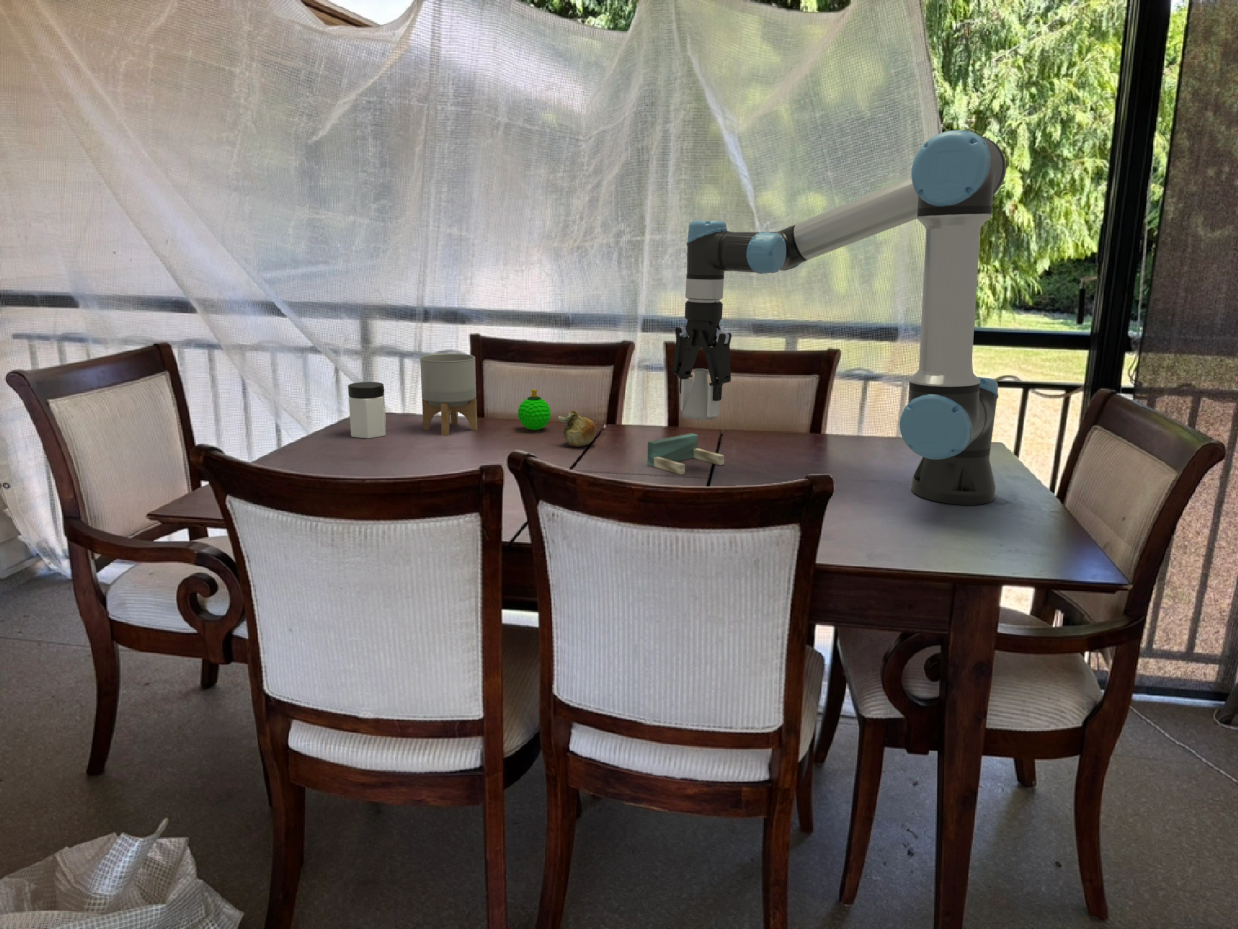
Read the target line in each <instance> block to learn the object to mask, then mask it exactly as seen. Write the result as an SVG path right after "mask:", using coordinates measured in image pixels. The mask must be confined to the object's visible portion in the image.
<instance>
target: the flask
mask: <svg viewBox="0 0 1238 929" xmlns="http://www.w3.org/2000/svg"><path fill="white" fill-rule="evenodd" d="M692 372H693V373H694V378H693V388H692V391H691V393H690V396H689V399H688V401H687V404H686V406H685V409H684V411H683V412H682V414H681V416H682V417H683V419H685V420H686V419H687V420H695V421H711V420H714V419H717V416H713V417H707V401H708V385H709V383H708V374H709V369H708V368H693V369H692Z"/></svg>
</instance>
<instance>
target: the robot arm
mask: <svg viewBox="0 0 1238 929" xmlns="http://www.w3.org/2000/svg"><path fill="white" fill-rule="evenodd" d="M1005 156H1006V155H1005V154H1004V152H1003V150H1002V149H1001V147H1000V146H999V145H998V144H997V143H996V142H994V141H993V140H992V139H990V138H988V137H984V136H981V135H978V134H977V133H976V132H973V131H971V130H968V129H965V130H964V129H963V130H962V129H961V130H960V129H956V130H953V129H952V130H947V131H944V132H943V131H942V132H941V133H938V134H936V135H934V136H932V137H931V138H930V139H928V140H927V141H926V142H925V143H924V144H923V145H922V146H921V147H920V148H919V150H918V151H917V153H916V155H915V157H914V159H913V162H912V164H911V165H912V166H911V173H910V174H911V175H910V176H909V177H906V178H904V179H902V180H900V181H897V182H895V183H892V184H889V185H887V186H884V187H883V188H880V189H878V190H875V191H873V192H870V193H867V194H866V195H864V196H861V197H858V198H855V199H854V200H851V201H849V202H846V203H844V204H841V205H839V206H837V207H833V208H831V209H829V210H827V211H824V212H822V213H819V214H817V215H814V216H812V217H810V218H808V219H805V220H803V221H801V222H798V223H796V224H794V225H791V226H788V227H785V228H783V229H781V230H779V231H729V230H728V228H727V223H726V221H724V220H692V222H690V223H689V225H688V233H687V242H686V246H687V247H686V248H687V250H686V253H687V254H686V256H687V257H686V260H687V261H686V277H685V279H686V280H685V299H688V300H686V302H685V303H684V319H685V320H687V321H686V324H685V326H677V327H675V329H674V334H675V346H674V355H673V362H672V364H673V365H672V371H671V372H672V374H673V375H676V376H677V377H678V378H679V388H678V389H679V394H680V408H679V409H680V411H684V409H685V406H686V404H687V401H688V399H689V396H690V393H691V391H692V388H693V383H694V378H692V377H693V374H692V372H693V370H694V366H695V363H696V359H697V356H698V354H699V351H700V349H702V352H703V353H704V354H705V358H706V364H707V369H708V370H709V373H708V374H709V377H710V383H708V401H707V417H713V416H716V417H717V416H719V414H720V401H722V399H723V396H722V395H723V385H724V384H727V383H730V382H731V381H732V379H731V378H732V377H731V376H732V372H731V349H730V347H731V346H730V344H731V340H732V336H733V335H732V333H731V332H724V331H722V329H721V326H720V322H721V320H722V319H723V305H724V303H722V301H721V300H722V299H724V286H725V285H724V284H725V282H724V281H725V280H724V279H725V272H740V273H755V274H759V275H760V274H761V275H762V274H775V273H778V272H780V271H783V272H784V271H785V272H786V271H789V270H791V269H795V268H797V267H799V266H800V265H801V264H802V263H805V262H807V261H809V260H811V259H815V258H817V257H820V256H822V255H825V254H828V253H831V252H833V251H835V250H839V249H840V248H843V247H846V246H849V245H851V244H854V243H856V242H859V241H862V240H864V239H867V238H870V237H872V236H875V235H878V234H880V233H883V232H886V231H888V230H891V229H895V228H896V227H898V226H901V225H904V224H907V223H909V222H913V221H914V220H918V221H919V222H920V224H922V226H924V228H925V244H924V262H923V282H922V301H921V303H922V304H921V322H920V340H919V342H920V344H919V361H918V362H919V364H918V370H917V372H915V373H914V374H913V375H912V376H911V377H909V380H908V382H909V384H908V399H907V404H906V405H905V406H904V408H903V411H902V413H901V416H900V419H899V431H900V436H901V437H902V440H903V442H904V443H905V445H906V446H907V447H908V448H909V449H910V450H911V451H912V452H914V453H915V454H917V455H918V456H919V457H921V459H920V461H919V463H918V465H917V467H916V470H915V472H914V474H913V476H912V479H911V487H910V488H911V489H910V490H911V493H913V494H914V495H916V496H918V497H921V498H922V499H926V500H929V501H933V502H938V503H943V504H949V505H959V506H960V505H962V506H963V505H964V506H975V505H978V506H979V505H984V504H989V503H991V502H993V501H994V500H995V496H996V483H995V482H996V481H995V478H994V477H995V476H994V473H993V469H992V466H991V460H990V455H991V448H992V441H993V432H994V426H995V416H996V409H997V401H998V398H999V392H998V391H999V384H998V382H997V380H996V379H994V378H990V377H983V376H982V377H981V376H976V375H975V373H974V372H973V370H972V366H973V365H972V363H973V350H974V336H975V335H974V334H975V320H976V319H975V316H976V304H977V302H976V301H977V290H978V289H977V288H978V287H977V286H978V273H979V272H978V270H979V257H980V256H979V255H980V240H981V228H982V226H983V224H985V223H986V222H987V221H988V220H989V219H990V218H991V217H992V209H993V208H992V207H993V196H994V195H996V193H997V192H998V191H999V190H1000V189H1001V187H1002V185H1003V184H1004V180H1005V177H1006V173H1007V161H1006V157H1005Z"/></svg>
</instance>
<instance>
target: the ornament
mask: <svg viewBox="0 0 1238 929" xmlns="http://www.w3.org/2000/svg"><path fill="white" fill-rule="evenodd" d="M530 390H531V396H528V397H527V398H526V399H524V400H523V401H522V402H521V403H520V404H519V406H518V411H517V414H518V415H517V417H518V418H519V422H520V423H521V425H522V426H524V427H525V429H527V430H532V431H540V430H542V429H544V428H545V427H546V426H547V425H548V423H549V422H550V421H551V420H550V419H551V417H552V414H551V413H552V411H551V407H550V405H549V403H548V402H546V401H545V399H542V397H541V396H538V394H537V392H538V389H530Z"/></svg>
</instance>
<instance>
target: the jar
mask: <svg viewBox="0 0 1238 929" xmlns="http://www.w3.org/2000/svg"><path fill="white" fill-rule="evenodd" d="M384 386H385V385H384V383H382V382H378V381H361V382H359V381H358V382H352V383H349V384H348V385H347V392H348V394H347V395H348V409H349V410H348V411H349V425H350V437H351V438H357V439H358V438H361V439H374V438H380V437H385V436H386V435H387V434H386V433H387V425H386V422H387V420H386V419H387V417H386V414H387V413H386V405H385V404H386V403H385V387H384Z"/></svg>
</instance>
